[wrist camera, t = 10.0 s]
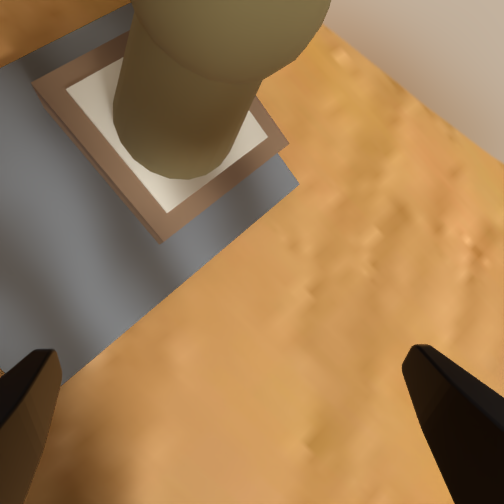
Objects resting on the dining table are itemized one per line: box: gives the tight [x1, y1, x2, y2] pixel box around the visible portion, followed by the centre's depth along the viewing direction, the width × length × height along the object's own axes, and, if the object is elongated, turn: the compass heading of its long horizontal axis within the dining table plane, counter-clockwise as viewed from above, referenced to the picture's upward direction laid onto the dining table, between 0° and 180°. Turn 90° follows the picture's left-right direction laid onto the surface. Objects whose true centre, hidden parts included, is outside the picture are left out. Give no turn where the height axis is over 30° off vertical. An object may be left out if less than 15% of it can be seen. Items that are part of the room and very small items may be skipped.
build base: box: [0, 3, 299, 386], centre depth 17 cm, size 19×14×3 cm
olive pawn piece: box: [113, 0, 331, 180], centre depth 12 cm, size 6×6×11 cm
